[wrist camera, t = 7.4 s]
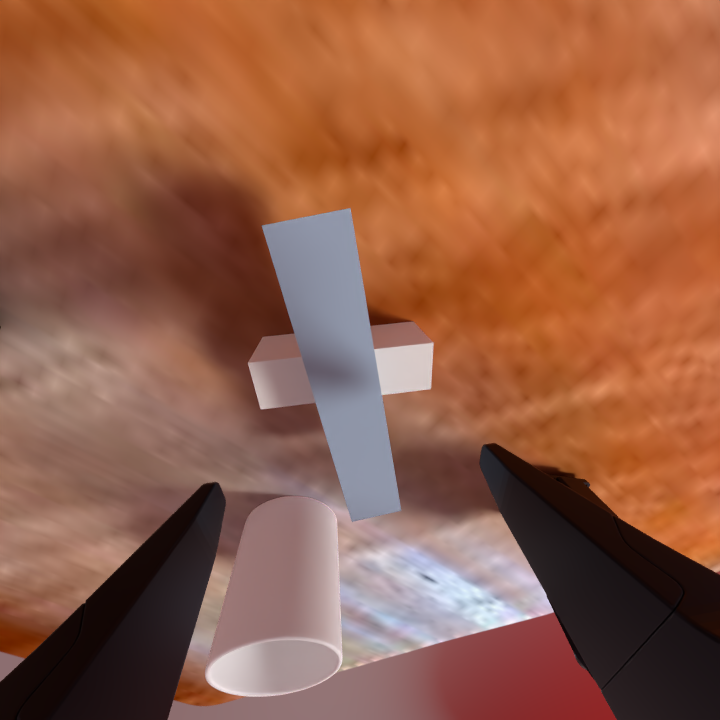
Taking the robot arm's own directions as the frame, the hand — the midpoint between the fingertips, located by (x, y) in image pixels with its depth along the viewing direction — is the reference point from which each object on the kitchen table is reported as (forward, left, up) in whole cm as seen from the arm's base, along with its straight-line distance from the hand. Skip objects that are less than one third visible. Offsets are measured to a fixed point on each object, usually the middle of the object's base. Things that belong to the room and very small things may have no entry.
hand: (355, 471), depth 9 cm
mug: (-21, -1, -12) cm, 24 cm away
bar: (0, 0, -7) cm, 7 cm away
